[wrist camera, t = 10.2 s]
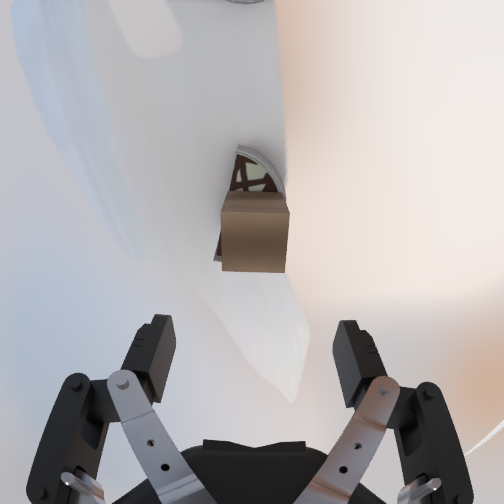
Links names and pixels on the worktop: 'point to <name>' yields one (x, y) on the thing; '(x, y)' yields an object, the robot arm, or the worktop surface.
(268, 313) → the worktop surface
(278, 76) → the worktop surface
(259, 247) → the walnut block
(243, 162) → the food container
